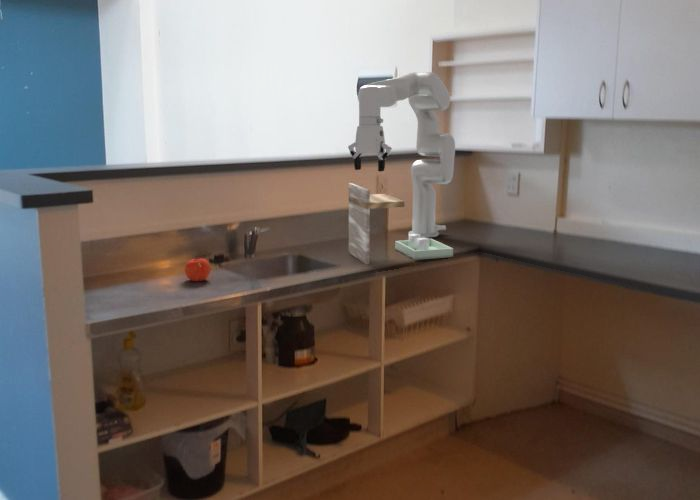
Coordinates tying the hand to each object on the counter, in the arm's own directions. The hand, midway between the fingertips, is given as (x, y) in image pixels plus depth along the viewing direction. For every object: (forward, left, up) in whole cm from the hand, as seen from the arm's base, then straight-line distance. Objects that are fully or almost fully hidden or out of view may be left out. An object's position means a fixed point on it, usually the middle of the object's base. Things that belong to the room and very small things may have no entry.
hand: (369, 170), depth 255 cm
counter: (-1, +3, -31) cm, 31 cm away
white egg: (-18, +7, -30) cm, 36 cm away
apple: (+64, +17, -32) cm, 73 cm away
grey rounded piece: (-18, -1, -30) cm, 35 cm away
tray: (-20, +3, -31) cm, 37 cm away
